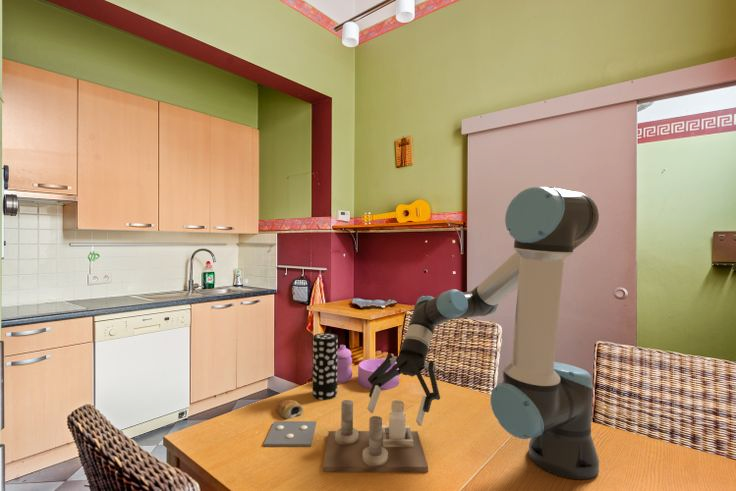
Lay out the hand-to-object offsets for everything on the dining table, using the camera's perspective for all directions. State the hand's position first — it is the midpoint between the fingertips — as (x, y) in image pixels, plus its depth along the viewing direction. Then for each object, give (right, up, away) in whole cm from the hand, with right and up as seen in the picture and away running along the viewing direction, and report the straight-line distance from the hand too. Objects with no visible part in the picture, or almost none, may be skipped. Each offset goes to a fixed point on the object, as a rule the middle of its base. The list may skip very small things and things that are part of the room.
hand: (393, 417), depth 96 cm
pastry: (-31, -8, +19) cm, 37 cm away
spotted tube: (-21, -7, +32) cm, 39 cm away
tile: (-27, -7, +6) cm, 29 cm away
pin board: (-5, -8, -2) cm, 9 cm away
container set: (-7, -7, +45) cm, 46 cm away
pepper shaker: (+1, -7, +2) cm, 7 cm away
